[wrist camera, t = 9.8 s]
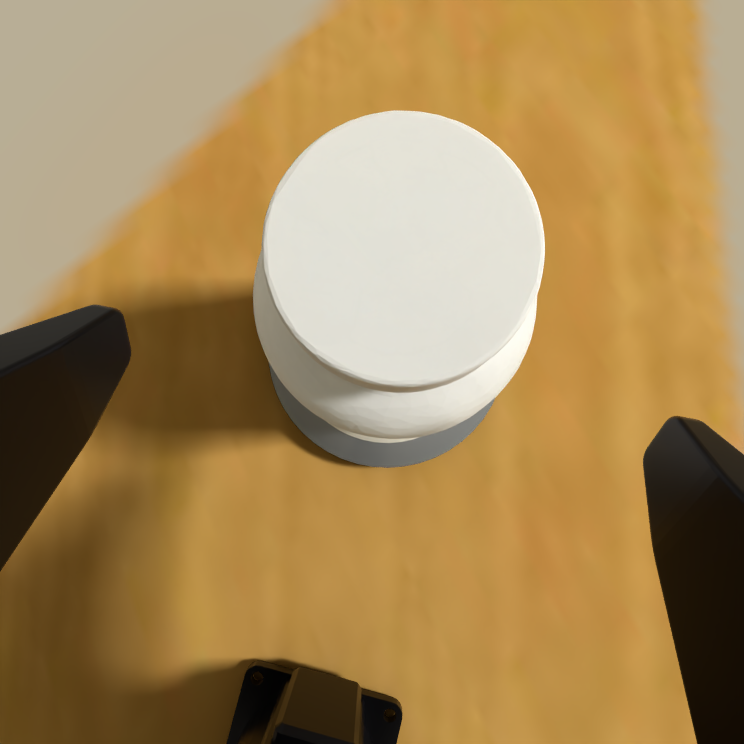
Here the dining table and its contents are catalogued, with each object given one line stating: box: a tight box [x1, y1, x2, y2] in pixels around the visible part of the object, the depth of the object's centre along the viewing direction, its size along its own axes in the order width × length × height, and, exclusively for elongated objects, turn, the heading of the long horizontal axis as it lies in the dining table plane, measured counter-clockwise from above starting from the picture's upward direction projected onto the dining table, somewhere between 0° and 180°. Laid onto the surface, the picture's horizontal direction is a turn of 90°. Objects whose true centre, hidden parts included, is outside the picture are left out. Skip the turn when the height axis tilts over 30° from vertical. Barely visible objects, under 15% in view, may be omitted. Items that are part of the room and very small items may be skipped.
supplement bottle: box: [253, 111, 545, 439], centre depth 14 cm, size 7×7×13 cm
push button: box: [269, 363, 495, 468], centre depth 21 cm, size 10×10×1 cm
